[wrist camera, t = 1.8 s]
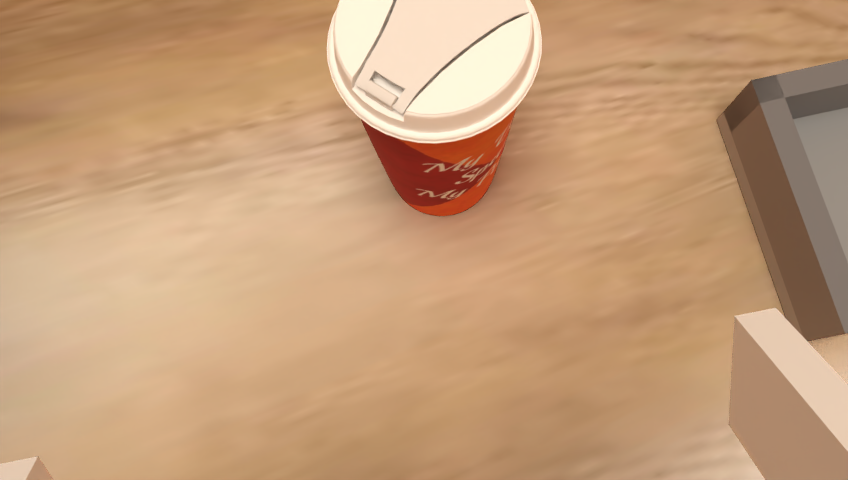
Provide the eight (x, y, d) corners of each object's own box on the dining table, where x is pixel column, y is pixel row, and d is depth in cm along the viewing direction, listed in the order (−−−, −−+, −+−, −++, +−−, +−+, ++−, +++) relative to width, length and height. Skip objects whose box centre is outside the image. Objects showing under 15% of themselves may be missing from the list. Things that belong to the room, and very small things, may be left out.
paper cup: (461, 264, 35) (463, 171, 22) (342, 186, 37) (274, 52, 23) (542, 146, 37) (591, -11, 23) (425, 75, 38) (406, -112, 25)
